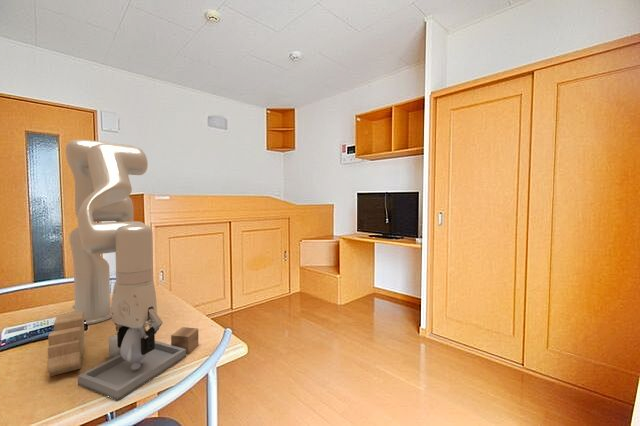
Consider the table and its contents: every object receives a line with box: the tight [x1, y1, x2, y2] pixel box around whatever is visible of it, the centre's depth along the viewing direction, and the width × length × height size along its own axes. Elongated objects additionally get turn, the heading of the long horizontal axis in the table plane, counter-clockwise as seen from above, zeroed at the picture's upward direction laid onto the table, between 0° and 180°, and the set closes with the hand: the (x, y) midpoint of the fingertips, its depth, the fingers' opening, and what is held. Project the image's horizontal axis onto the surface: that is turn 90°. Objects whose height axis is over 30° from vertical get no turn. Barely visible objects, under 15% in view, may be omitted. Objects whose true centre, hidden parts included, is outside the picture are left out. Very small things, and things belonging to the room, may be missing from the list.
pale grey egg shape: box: [108, 333, 121, 360], centre depth 78 cm, size 5×5×5 cm
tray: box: [77, 340, 187, 402], centre depth 71 cm, size 13×18×2 cm
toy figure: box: [120, 328, 147, 370], centre depth 72 cm, size 11×6×12 cm, turn 17°
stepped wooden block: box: [46, 311, 85, 377], centre depth 74 cm, size 6×17×10 cm, turn 36°
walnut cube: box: [170, 326, 199, 355], centre depth 82 cm, size 5×5×5 cm
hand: (136, 347), depth 71 cm, fingers open, 7 cm apart
